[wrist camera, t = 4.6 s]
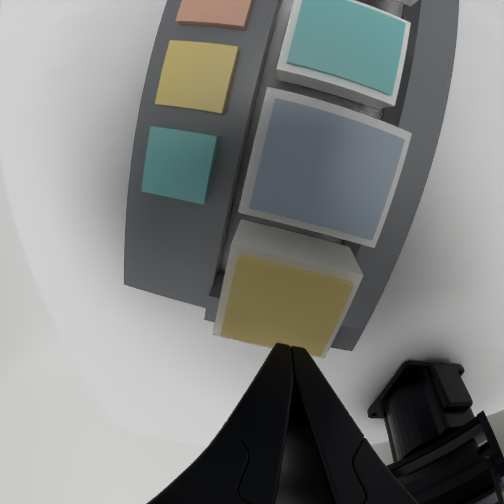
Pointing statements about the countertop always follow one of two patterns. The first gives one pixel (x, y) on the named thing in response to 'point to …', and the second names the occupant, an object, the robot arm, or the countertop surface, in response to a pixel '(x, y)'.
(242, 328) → the key mustard
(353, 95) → the key teal
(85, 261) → the countertop surface
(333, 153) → the key slate
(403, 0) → the block
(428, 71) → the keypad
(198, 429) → the countertop surface
